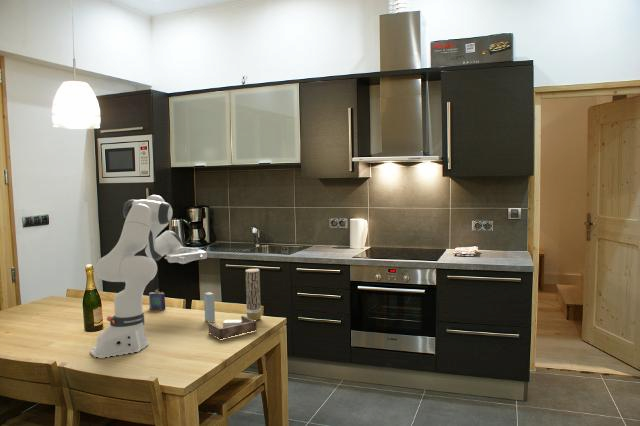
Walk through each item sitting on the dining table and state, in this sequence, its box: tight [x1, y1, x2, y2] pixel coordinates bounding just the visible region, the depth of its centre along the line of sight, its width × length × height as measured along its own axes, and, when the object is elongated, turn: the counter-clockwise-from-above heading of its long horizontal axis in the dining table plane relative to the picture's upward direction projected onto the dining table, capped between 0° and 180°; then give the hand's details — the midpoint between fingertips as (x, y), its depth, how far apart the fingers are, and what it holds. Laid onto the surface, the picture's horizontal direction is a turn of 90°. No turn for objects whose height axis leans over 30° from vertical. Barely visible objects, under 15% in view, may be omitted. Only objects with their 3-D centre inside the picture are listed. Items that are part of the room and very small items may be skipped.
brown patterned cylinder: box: [245, 268, 262, 321], centre depth 247 cm, size 7×7×25 cm
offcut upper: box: [222, 319, 242, 328], centre depth 226 cm, size 8×4×3 cm, turn 89°
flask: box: [148, 289, 166, 311], centre depth 271 cm, size 9×3×11 cm, turn 77°
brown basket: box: [207, 315, 257, 340], centre depth 227 cm, size 18×12×5 cm, turn 127°
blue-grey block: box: [203, 291, 216, 322], centre depth 246 cm, size 3×5×14 cm, turn 37°
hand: (193, 258), depth 253 cm, fingers open, 8 cm apart
